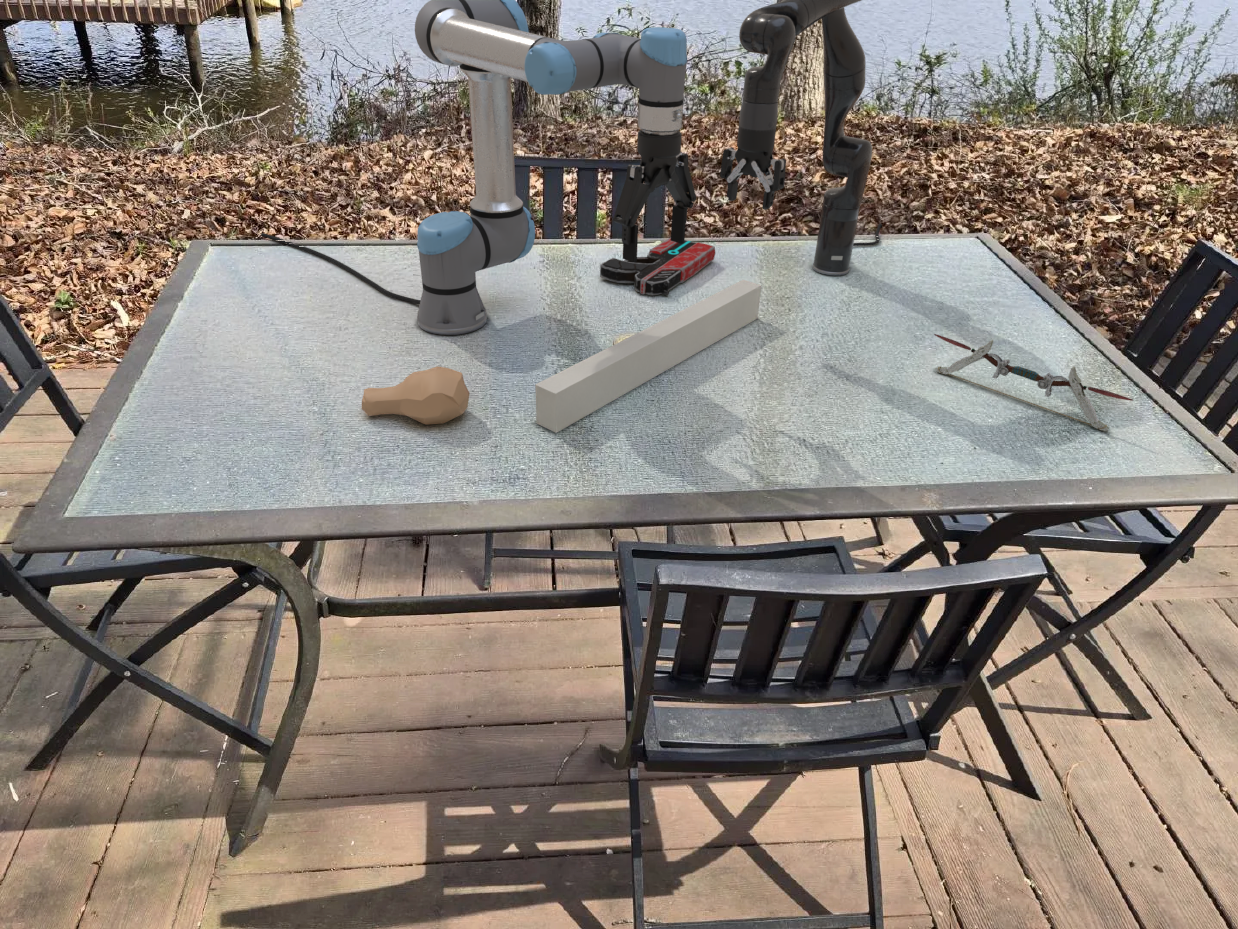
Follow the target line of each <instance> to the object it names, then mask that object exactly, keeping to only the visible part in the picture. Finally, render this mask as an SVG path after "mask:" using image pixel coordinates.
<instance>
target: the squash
mask: <svg viewBox="0 0 1238 929" xmlns="http://www.w3.org/2000/svg"><path fill="white" fill-rule="evenodd" d="M470 395H471V393H470V391H469V389H468V387H467V385H466V383H465V379H464V375H463V372H460V371H458V370H454V369H452V368H448V367H444V366H439V365H437V366H435V367H432V368H431V367H430V368H428V369H424V370H419V371H413V372H411V373H410V374H409V375H408V376H406V377H405V378H404V379H403V381H401V382H399V383H398V384H396V385H394V386H388V387H367V388H365V389H363V395H362V398H361V410H362V411H363V412H364V413H365V414H366V415H367V416H368V417H372V416H379V415H380V416H381V415H400V416H405V417H408V418H411V419H412V420H414V421H416V422H419V423H421V424H423V425H425V426H427V425H442V424H446V423H447V422H450V421H452V420H453V419H455V418H457V417H460V416H462V415H463V414H464V413H465V412H466V410H467V409H468V408H469V400H470Z"/></svg>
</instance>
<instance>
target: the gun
mask: <svg viewBox="0 0 1238 929" xmlns="http://www.w3.org/2000/svg"><path fill="white" fill-rule="evenodd" d="M715 256H716V247H715V246H714V245H711V244H708V243H703V242H700V241H699V242H695V241H690V240H687V239H685V240H684V243H683V244H680V243H677V242H674V241H671V236H670V237H668V238H666V239H665V240H663V241H662V242H660V243H659V244H657V245H655V246H654V247H651V248H650V249H649V252H648V253H647V255H646V256H637V262H631V261H628V260H625V259H623V260H622V259H618V258H615V257H611V258H610V259H608V260H606V261H604V262H602V263H600V264H599V265H600V266H599V267H600V268H599V277H600V278H602V279H604V280H607V281H610V282H613V283H618V284H633V288H634V289H635V291H636V292H639V294H640V295H648V296H657V295H663V296H666V297H668V296H669V294H670V290H672V289H673V288H674V287H676V286H678V285H679V284H682V283H684V282H687V280H689V279H690V278H692V277H694V276H695V275H696V274H697V273H699V271H701V270H703V269H704V268H705V267H707V266H708V265H709V264H710V263H712V262H713V261H714V259H715Z"/></svg>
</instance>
